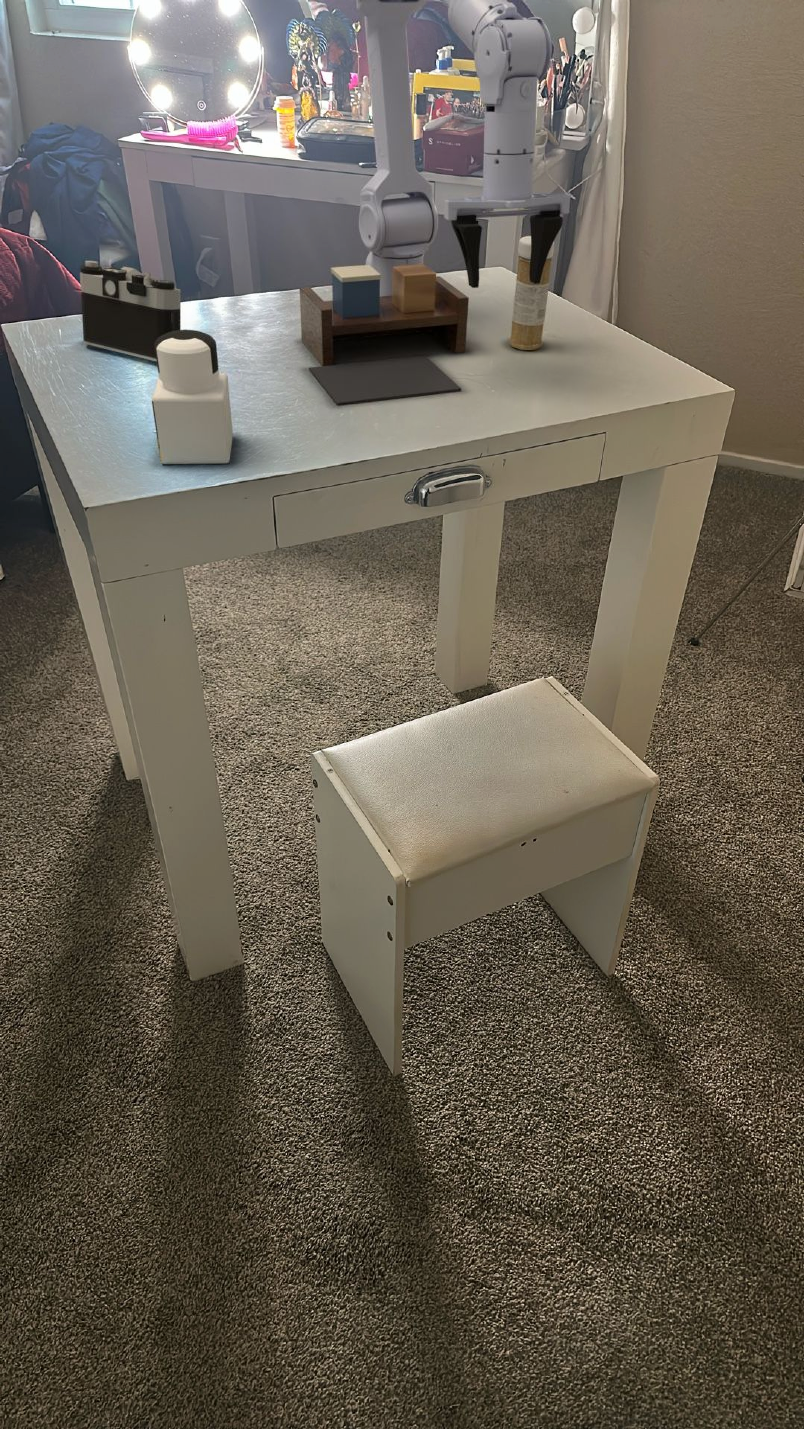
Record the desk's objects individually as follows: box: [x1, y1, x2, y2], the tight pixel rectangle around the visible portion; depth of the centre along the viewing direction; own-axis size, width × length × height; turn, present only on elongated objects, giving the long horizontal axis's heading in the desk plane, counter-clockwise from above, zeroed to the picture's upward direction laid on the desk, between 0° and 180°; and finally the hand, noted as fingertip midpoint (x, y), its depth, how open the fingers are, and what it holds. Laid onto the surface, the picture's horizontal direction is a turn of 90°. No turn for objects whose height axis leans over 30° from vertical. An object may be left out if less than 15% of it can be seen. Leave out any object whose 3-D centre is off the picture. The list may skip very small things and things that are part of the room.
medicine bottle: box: [151, 329, 234, 465], centre depth 96 cm, size 7×7×12 cm
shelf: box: [299, 276, 470, 366], centre depth 124 cm, size 10×20×7 cm, turn 111°
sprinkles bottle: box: [509, 235, 555, 351], centre depth 124 cm, size 5×5×13 cm
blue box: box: [330, 264, 381, 319], centre depth 120 cm, size 5×5×5 cm
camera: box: [79, 260, 182, 362], centre depth 121 cm, size 15×11×10 cm
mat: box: [308, 355, 462, 406], centre depth 117 cm, size 12×16×1 cm
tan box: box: [392, 263, 437, 313], centre depth 122 cm, size 4×4×5 cm
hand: (504, 284), depth 112 cm, fingers open, 7 cm apart
